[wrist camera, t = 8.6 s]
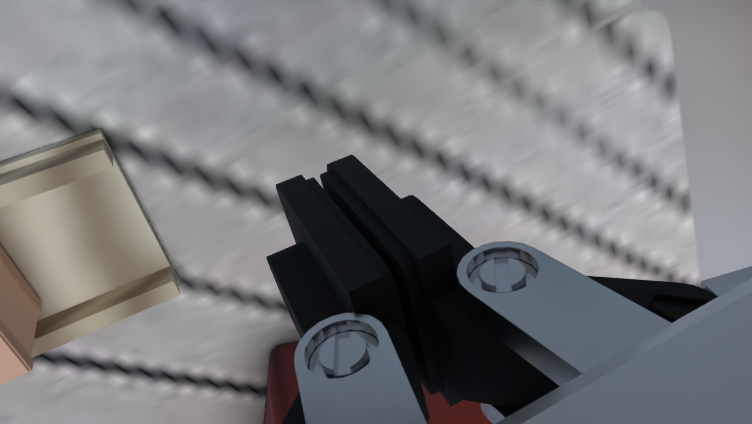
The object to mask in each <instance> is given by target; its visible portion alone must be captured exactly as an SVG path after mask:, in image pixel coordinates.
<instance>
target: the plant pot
mask: <svg viewBox="0 0 752 424" xmlns="http://www.w3.org/2000/svg"><path fill="white" fill-rule="evenodd" d="M298 343H299V342H297V343H290V344H283V345H280V346H278V347H276V348H275V349H274V350H273V351H272V353H271V355H270V359H269V370H268V381H267V393H266V404H265V415H264V424H282V422H283V420H284V418H285V417H286V415H287V413H288V411H289V409H290V407H291V406H292V404H293V402H294V400H295V398H296V397H297V395H298V393H299V386H298V381H297V376H296V371H295V366H294V353H295V351H296V348H297V346H298ZM421 384H422V382H421ZM422 388H423V392H424V396H425V400H426V404H427V408H428V412H429V416H430V419H429V422H428V424H493V423H491V422H490V421H489V420H488V418H487V417H486V416H485V415H484V413H483V412H482V411H481V408H480V404H479V403H478V402H472V401H466V400H462V401H461V402H459V403H457V404H455V405H453V406H451V407H450V405H449V404H448V403H447V401H446V400H445V398H444V397H443V396H442V394H441V393H440V392H438V393H436V394H434V395H431V394H430V393H429V392H428V391H427V390H426V388H425V387H424V385H423V384H422Z"/></svg>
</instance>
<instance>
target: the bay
mask: <svg viewBox="0 0 752 424" xmlns="http://www.w3.org/2000/svg"><path fill="white" fill-rule="evenodd" d="M0 246H1V247H2V249H3V250H4V252H5V253H6V254H7V256H8V257H9V259H10V260H11V261H12V263H13V264H14V265H15V267H16V268H17V270H18V271H19V272H20V274H21V275H22V277H23V278H24V279H25V281H26V282H27V284H28V285H29V286H30V288H31V289H32V290H33V292H34V293H35V295H36V296H37V297H38V299H39V300H40V303H41V304H42V310H41V313H38V319H37V325H36V331H35V337H34V343H33V349H32V355H31V358H33V357H35V356H37V355H40V354H42V353H44V352H47V351H49V350H51V349H54V348H56V347H58V346H61V345H63V344H65V343H68V342H70V341H72V340H75V339H77V338H79V337H82V336H84V335H86V334H89V333H91V332H93V331H96V330H98V329H100V328H103V327H105V326H107V325H110V324H112V323H114V322H117V321H119V320H121V319H124V318H126V317H128V316H130V315H133V314H135V313H137V312H140V311H142V310H144V309H147V308H149V307H151V306H154V305H156V304H158V303H161V302H163V301H165V300H168V299H170V298H172V297H175V296H177V295H179V294H180V291H179V286H178V284H179V280H178V276H177V274H176V272H175V270H174V268H173V266H172V265H171V263H170V261H169V259H168V257H167V255H166V253H165V251H164V249H163V247H162V245H161V243H160V241H159V240H158V238H157V236H156V234H155V232H154V230H153V228H152V226H151V224H150V222H149V220H148V218H147V217H146V215H145V213H144V211H143V209H142V207H141V205H140V203H139V201H138V199H137V197H136V195H135V194H134V192H133V190H132V188H131V186H130V184H129V182H128V180H127V178H126V176H125V174H124V172H123V170H122V169H121V167H120V165H119V163H118V161H117V159H116V157H115V155H114V153H113V151H112V149H111V147H110V146H109V144H108V142H107V140H106V138H105V136H104V134H103V132H102V130H101V128H99V129H96V130H93V131H90V132H87V133H85V134H82V135H79V136H76V137H73V138H70V139H67V140H64V141H61V142H58V143H55V144H52V145H49V146H46V147H43V148H40V149H37V150H34V151H31V152H28V153H25V154H22V155H19V156H16V157H13V158H10V159H7V160H4V161H1V162H0Z"/></svg>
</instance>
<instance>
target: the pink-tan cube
mask: <svg viewBox="0 0 752 424" xmlns="http://www.w3.org/2000/svg"><path fill="white" fill-rule="evenodd" d="M41 310H42V304H41V303H40V300H39V299H38V297H37V296H36V295H35V293H34V292H33V290H32V289H31V288H30V286H29V285H28V284H27V282H26V281H25V279H24V278H23V277H22V275H21V274H20V272H19V271H18V270H17V268H16V267H15V265H14V264H13V263H12V261H11V260H10V259H9V257H8V256H7V254H6V253H5V252H4V250H3V249H2V247H1V246H0V384H3V383H5V382H7V381H9V380H12V379H14V378H16V377H19V376H21V375H23V374H25V373H28V372H29V371H31V370H32V367H33V359H32V358H31V355H32V349H33V343H34V337H35V331H36V325H37V319H38V313H41Z"/></svg>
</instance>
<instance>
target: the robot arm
mask: <svg viewBox="0 0 752 424" xmlns="http://www.w3.org/2000/svg"><path fill="white" fill-rule="evenodd" d="M327 171H328V172H325V173H323V174H320V178H321V182H322V185H323V188H324V189H323V188H322V187H321V185H320V184H319V183H318V182H317V181H316V179H315V178H314V177H313V178H310V179H308V180H305V178H304V177H303V176H302V175H299V176H296V177H294V178H291V179H289V180H286V181H284V182H281V183H279V184H276V189H277V192H278V195H279V198H280V200H281V203H282V206H283V209H284V211H285V214H286V217H287V220H288V222H289V225H290V228H291V231H292V233H293V236H294V239H295V242H296V244H295V245H293V246H291V247H288V248H286V249H284V250H281V251H279V252H277V253H274V254H272V255H270V256H267V257H266V258H267V261H268V264H269V266H270V269H271V271H272V274H273V276H274V278H275V281H276V283H277V286H278V288H279V291H280V293H281V295H282V298H283V300H284V302H285V305H286V307H287V309H288V311H289V314H290V316H291V318H292V320H293V323H294V325H295V327H296V329H297V331H298V333H299V335H300V337H301V340H300V341H299V343H298V346H297V348H296V351H295V353H294V366H295V371H296V376H297V381H298V386H299V393H298V395H297V397H296V398H295V400H294V402H293V404H292V406H291V407H290V409H289V411H288V413H287V415H286V417H285V418H284V420H283V422H282V424H428V422H429V419H430V416H429V412H428V408H427V404H426V400H425V396H424V392H423V388H422V384H423V385H424V387H425V388H426V390H427V391H428V392H429V393H430V394H431V395H434V394H436V393H438V392H440V393H441V394H442V396H443V397H444V398H445V400H446V401H447V403H448V404H449V405H450V407H451V406H453V405H455V404H457V403H459V402H461V401H462V400H466V401H472V402H478V403H479V404H480V408H481V411H482V412H483V413H484V415H485V416H486V417H487V418H488V420H489V421H490V422H491V423H493V424H752V266H751V267H748V268H744V269H741V270H737V271H734V272H731V273H727V274H724V275H721V276H717V277H714V278H711V279H707V280H704V281H701V287H697V286H694V285H689V284H683V283H677V282H664V281H650V280H636V279H622V278H608V277H594V276H585V275H583V274H581V273H579V272H578V271H576V270H574V269H572V268H570V267H568V266H567V265H565V264H563V263H561V262H559V261H558V260H556V259H554V258H552V257H550V256H548V255H547V254H545V253H543V252H541V251H539V250H537V249H536V248H534V247H531V246H529V245H526V244H523V243H518V242H512V241H500V242H492V243H488V244H484V245H481V246H479V247H477V248H474V247H473V246H472V245H471V244H470V243H468V242H467V241H466V240H465V239H464V238H463V237H462V236H460V235H459V234H458V233H457V232H456V231H455V230H453V229H452V228H451V227H450V226H449V225H448V224H447V223H445V222H444V221H443V220H442V219H441V218H440V217H438V216H437V215H436V214H435V213H434V212H433V211H432V210H430V209H429V208H428V207H427V206H426V205H425V204H424V203H422V202H421V201H420V200H419V199H418V198H416V197H415V196H413V195H409V196H407V197H404V198H402V199H400V198H399V197H398V196H397V195H396V194H395V193H394V192H393V191H392V190H391V189H389V188H388V187H387V186H386V185H385V184H384V183H383V182H382V181H381V180H380V179H379V178H377V177H376V176H375V175H374V174H373V173H372V172H371V171H370V170H369V169H368V168H367V167H366V166H364V165H363V164H362V163H361V162H360V161H359V160H358V159H357V158H356V157H355V156H353V155H349V156H347V157H344V158H342V159H339V160H337V161H334V162H332V163H329V164H327ZM421 382H422V384H421Z"/></svg>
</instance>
